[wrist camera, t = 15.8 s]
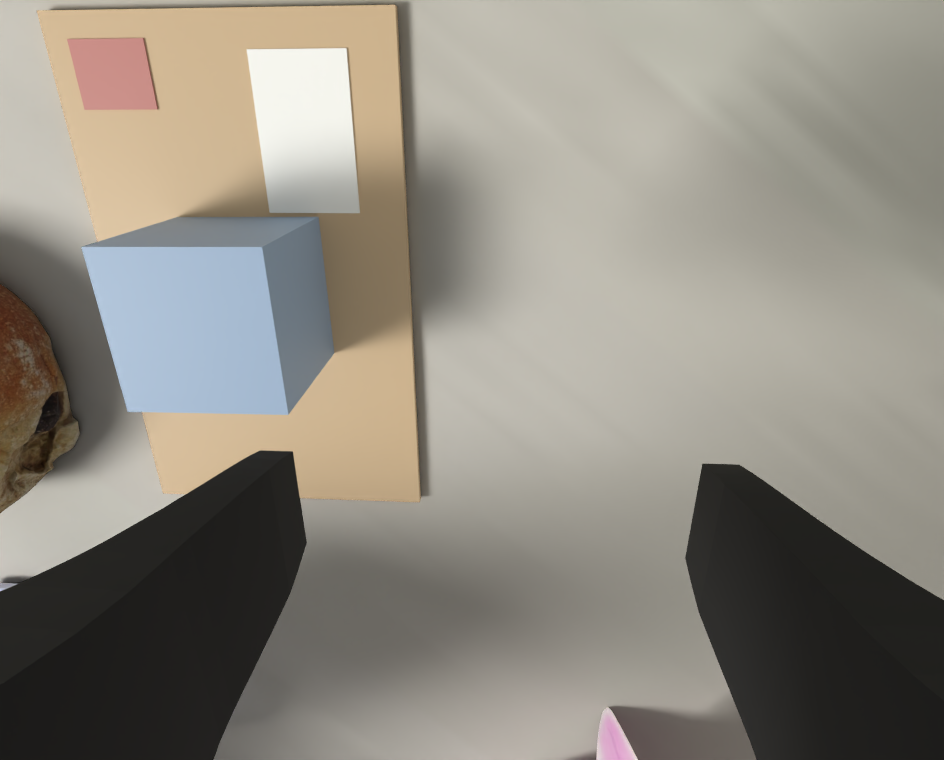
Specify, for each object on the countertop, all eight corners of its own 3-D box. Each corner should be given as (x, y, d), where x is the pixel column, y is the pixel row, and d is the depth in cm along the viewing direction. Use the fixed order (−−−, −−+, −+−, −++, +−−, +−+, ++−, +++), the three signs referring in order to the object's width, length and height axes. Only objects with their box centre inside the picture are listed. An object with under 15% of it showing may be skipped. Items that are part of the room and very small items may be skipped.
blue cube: (334, 353, 20) (288, 414, 16) (205, 351, 20) (127, 411, 16) (318, 216, 18) (262, 247, 14) (176, 217, 19) (81, 246, 14)
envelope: (420, 497, 23) (419, 502, 22) (167, 488, 23) (162, 494, 23) (397, 6, 16) (394, 4, 16) (44, 12, 17) (35, 10, 16)
